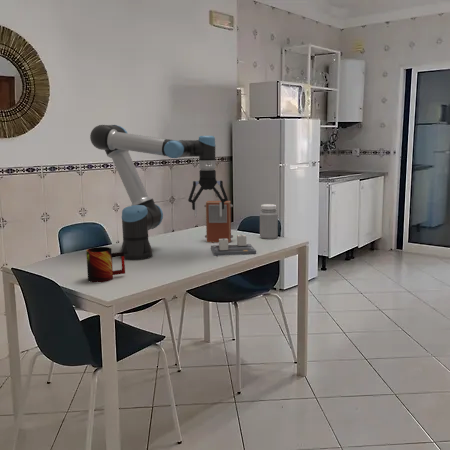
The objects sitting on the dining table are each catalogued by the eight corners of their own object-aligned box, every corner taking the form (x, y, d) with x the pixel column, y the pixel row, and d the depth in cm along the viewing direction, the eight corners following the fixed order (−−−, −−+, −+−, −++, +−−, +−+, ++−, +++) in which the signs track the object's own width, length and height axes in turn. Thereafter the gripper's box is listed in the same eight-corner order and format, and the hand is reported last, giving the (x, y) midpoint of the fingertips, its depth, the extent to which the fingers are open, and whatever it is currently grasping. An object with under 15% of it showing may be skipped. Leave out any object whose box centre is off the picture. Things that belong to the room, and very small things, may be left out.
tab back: (238, 246, 254) (238, 235, 253) (237, 244, 258) (237, 234, 257) (246, 245, 255) (246, 235, 254) (245, 244, 258) (245, 234, 257)
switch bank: (214, 255, 243) (214, 251, 243) (210, 248, 259) (210, 244, 258) (256, 254, 245) (256, 249, 245) (250, 247, 261) (250, 243, 261)
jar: (257, 236, 287) (257, 204, 284) (273, 235, 290) (273, 203, 287) (263, 240, 278) (263, 206, 275) (280, 238, 281) (280, 205, 278)
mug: (126, 276, 209) (124, 246, 207) (98, 284, 199) (97, 253, 196) (110, 272, 215) (108, 244, 213) (82, 280, 204) (81, 250, 202)
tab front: (219, 250, 245) (219, 239, 244) (219, 248, 249) (218, 238, 248) (228, 249, 246) (228, 239, 245) (227, 248, 249) (227, 238, 248)
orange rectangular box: (205, 240, 280) (233, 240, 279) (203, 242, 273) (232, 242, 272) (204, 200, 276) (233, 200, 275) (203, 202, 270) (231, 202, 268)
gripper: (182, 170, 235) (183, 218, 239) (233, 169, 238) (234, 216, 242) (181, 169, 242) (182, 216, 246) (231, 168, 245) (232, 214, 249)
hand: (208, 216), depth 244 cm, fingers open, 11 cm apart
